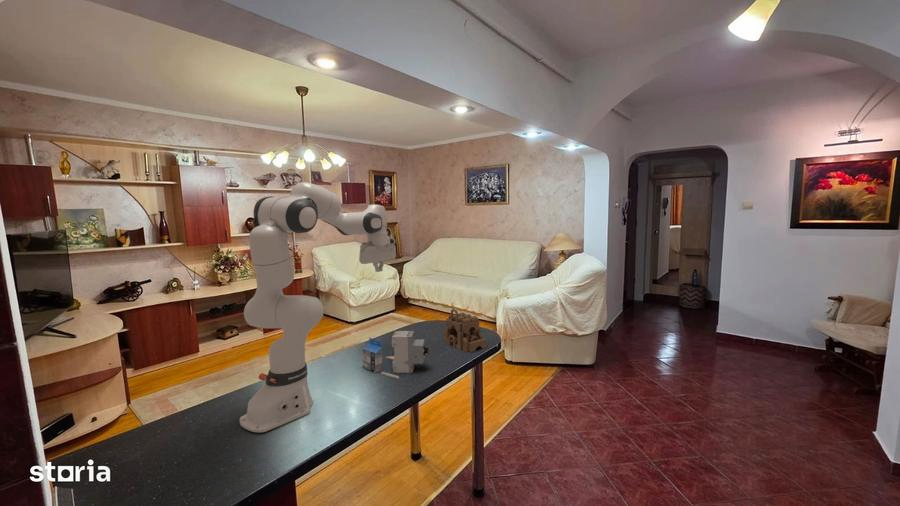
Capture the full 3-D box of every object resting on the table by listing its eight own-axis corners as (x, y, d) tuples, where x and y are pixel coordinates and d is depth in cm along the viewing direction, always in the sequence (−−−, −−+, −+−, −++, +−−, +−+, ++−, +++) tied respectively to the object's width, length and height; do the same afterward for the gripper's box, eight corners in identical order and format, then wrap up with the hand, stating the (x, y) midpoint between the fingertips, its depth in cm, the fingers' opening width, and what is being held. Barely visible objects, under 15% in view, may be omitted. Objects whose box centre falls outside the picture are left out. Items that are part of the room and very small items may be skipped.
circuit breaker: (427, 372, 145) (426, 336, 144) (392, 372, 145) (391, 337, 144) (429, 364, 152) (428, 330, 151) (396, 365, 153) (394, 331, 151)
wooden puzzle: (489, 346, 173) (488, 309, 171) (466, 354, 164) (465, 314, 162) (460, 335, 190) (459, 301, 188) (438, 342, 181) (437, 306, 179)
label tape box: (362, 367, 151) (361, 339, 150) (370, 364, 154) (369, 337, 153) (375, 373, 145) (373, 344, 144) (383, 370, 148) (382, 341, 147)
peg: (397, 379, 139) (397, 377, 139) (380, 374, 144) (380, 372, 144) (399, 378, 140) (399, 375, 140) (382, 373, 145) (382, 370, 145)
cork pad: (400, 361, 157) (400, 360, 157) (383, 357, 162) (383, 356, 162) (410, 356, 162) (410, 355, 162) (393, 352, 168) (393, 351, 168)
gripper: (365, 242, 149) (367, 275, 150) (397, 239, 166) (398, 269, 167) (355, 242, 152) (356, 274, 153) (387, 239, 169) (388, 268, 171)
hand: (378, 271), depth 161 cm, fingers closed
